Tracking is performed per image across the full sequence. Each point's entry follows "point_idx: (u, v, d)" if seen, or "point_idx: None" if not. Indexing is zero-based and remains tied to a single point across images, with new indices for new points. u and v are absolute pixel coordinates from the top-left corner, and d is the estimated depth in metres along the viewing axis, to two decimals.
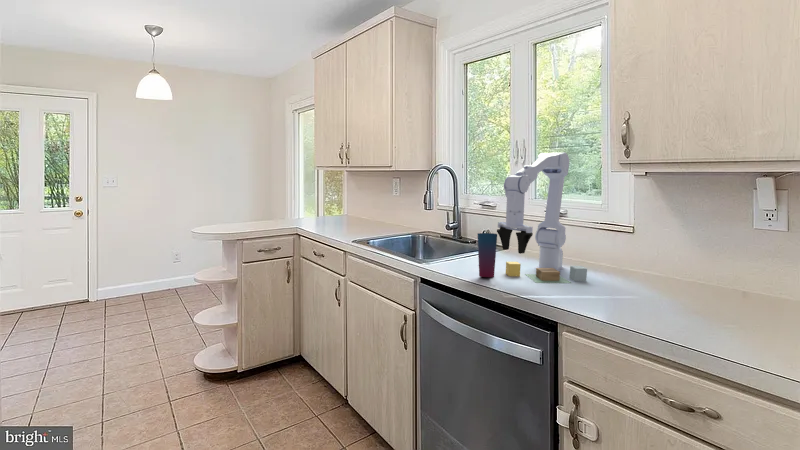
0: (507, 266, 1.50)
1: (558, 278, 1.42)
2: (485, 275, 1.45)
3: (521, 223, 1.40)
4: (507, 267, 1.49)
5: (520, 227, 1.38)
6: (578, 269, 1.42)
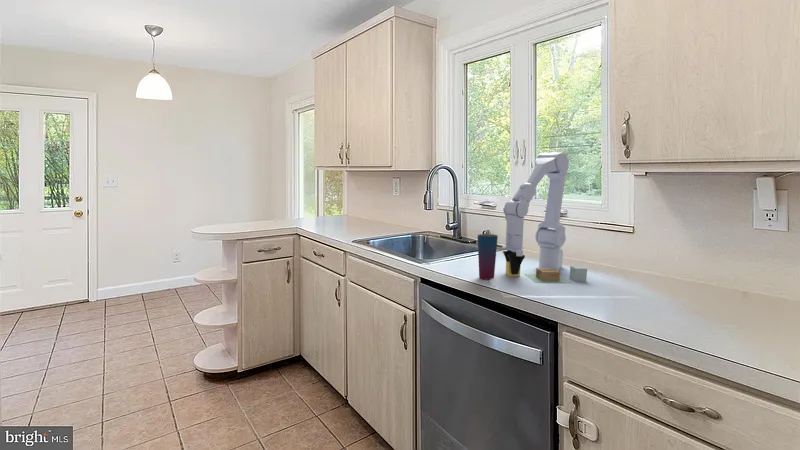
0: (507, 266, 1.50)
1: (558, 278, 1.42)
2: (485, 277, 1.45)
3: (517, 246, 1.46)
4: (507, 266, 1.49)
5: (512, 250, 1.44)
6: (578, 269, 1.42)
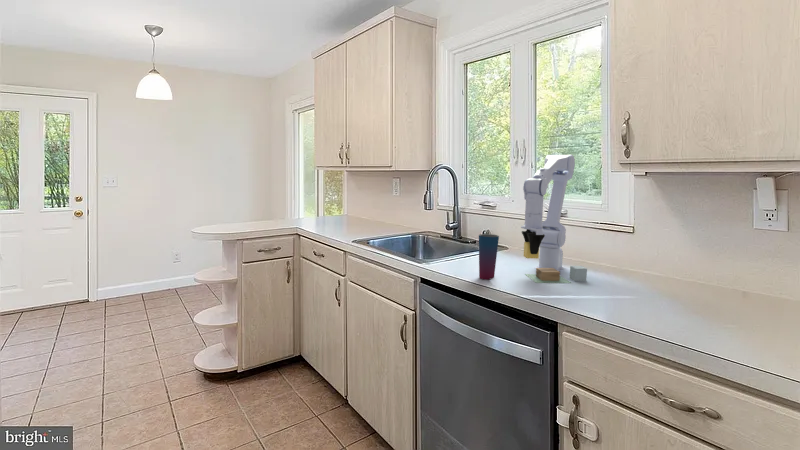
0: (525, 246, 1.46)
1: (558, 278, 1.42)
2: (485, 278, 1.45)
3: (537, 225, 1.43)
4: (526, 247, 1.46)
5: (532, 229, 1.41)
6: (578, 269, 1.42)
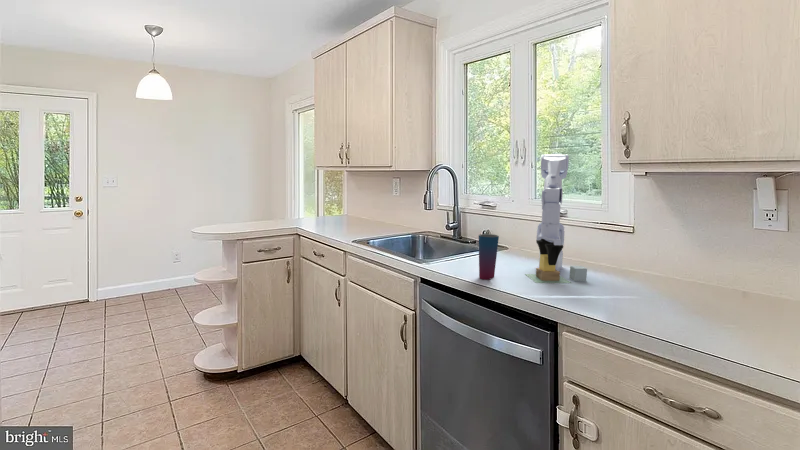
0: (541, 259, 1.44)
1: (558, 278, 1.42)
2: (485, 278, 1.45)
3: (554, 235, 1.41)
4: (542, 260, 1.44)
5: (549, 239, 1.39)
6: (578, 269, 1.42)
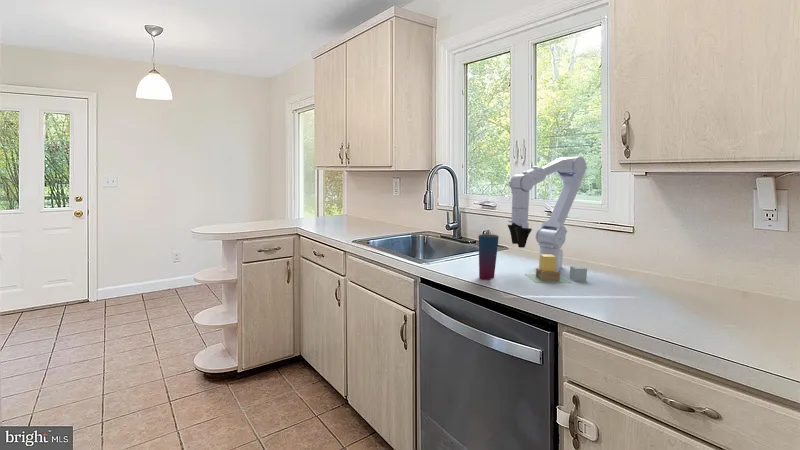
0: (541, 259, 1.44)
1: (558, 278, 1.42)
2: (485, 278, 1.45)
3: (523, 219, 1.49)
4: (542, 260, 1.44)
5: (518, 222, 1.47)
6: (578, 269, 1.42)
